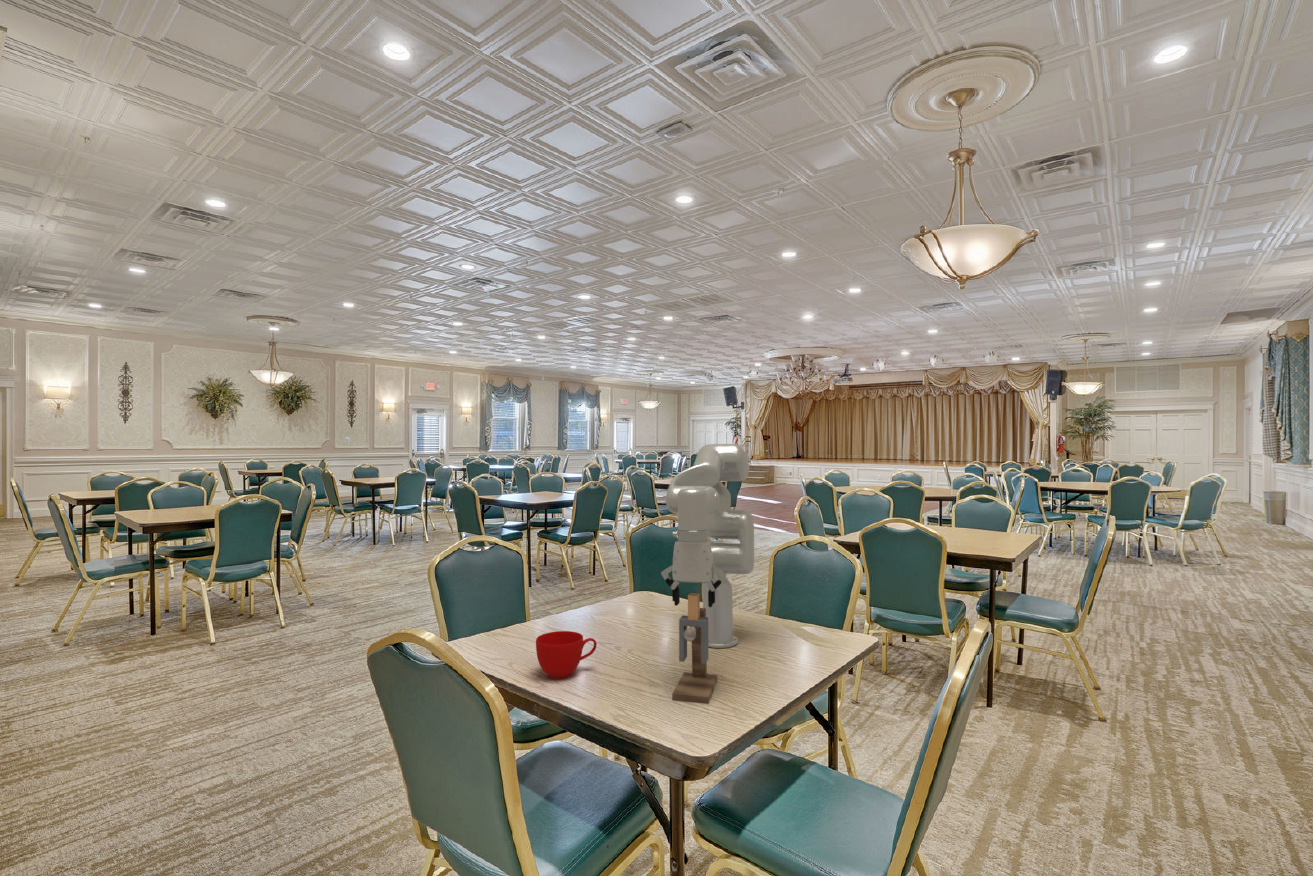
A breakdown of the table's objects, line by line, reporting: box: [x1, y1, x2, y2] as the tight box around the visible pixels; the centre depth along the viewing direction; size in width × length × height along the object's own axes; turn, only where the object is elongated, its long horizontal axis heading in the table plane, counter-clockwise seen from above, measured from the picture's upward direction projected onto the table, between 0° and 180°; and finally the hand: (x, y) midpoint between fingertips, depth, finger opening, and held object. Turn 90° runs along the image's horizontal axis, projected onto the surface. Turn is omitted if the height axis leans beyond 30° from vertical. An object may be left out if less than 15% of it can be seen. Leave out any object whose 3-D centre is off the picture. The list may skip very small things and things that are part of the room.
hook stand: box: [671, 607, 718, 704], centre depth 150 cm, size 16×9×19 cm, turn 166°
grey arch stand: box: [678, 592, 709, 664], centre depth 150 cm, size 7×4×16 cm, turn 75°
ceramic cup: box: [535, 630, 597, 679], centre depth 163 cm, size 13×17×10 cm
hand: (693, 604), depth 150 cm, fingers open, 8 cm apart
